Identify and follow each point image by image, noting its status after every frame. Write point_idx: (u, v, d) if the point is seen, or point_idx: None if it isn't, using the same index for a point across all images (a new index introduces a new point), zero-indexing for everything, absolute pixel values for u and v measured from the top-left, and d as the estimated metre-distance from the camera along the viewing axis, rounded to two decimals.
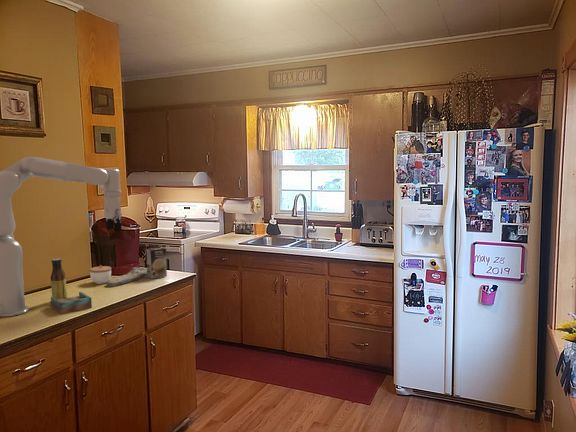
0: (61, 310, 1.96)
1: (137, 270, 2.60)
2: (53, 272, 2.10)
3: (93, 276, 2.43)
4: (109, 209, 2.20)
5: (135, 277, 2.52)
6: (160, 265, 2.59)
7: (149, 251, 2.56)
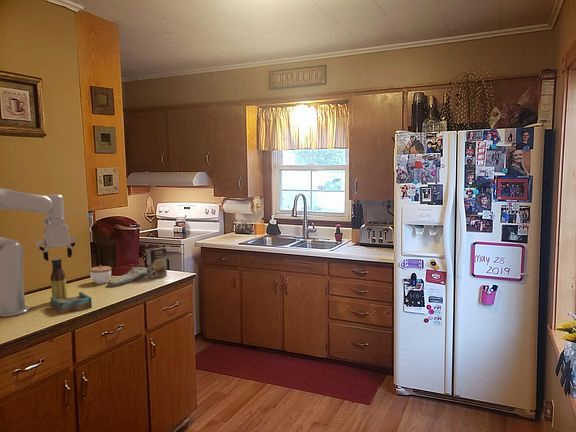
0: (61, 310, 1.96)
1: (136, 270, 2.60)
2: (53, 272, 2.10)
3: (93, 276, 2.43)
4: (64, 236, 2.11)
5: (135, 277, 2.52)
6: (160, 265, 2.59)
7: (149, 251, 2.56)
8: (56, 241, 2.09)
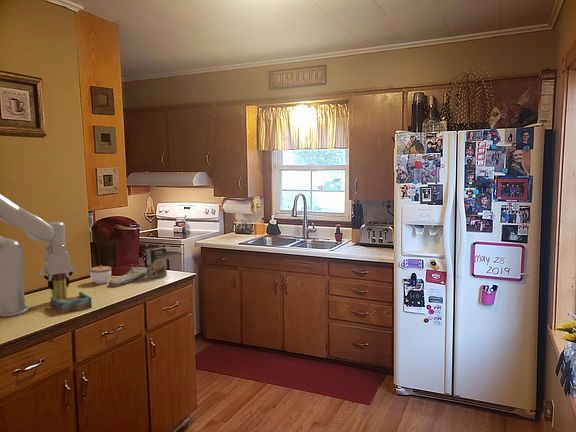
0: (61, 310, 1.96)
1: (136, 270, 2.60)
2: None
3: (93, 276, 2.43)
4: (65, 263, 2.12)
5: (136, 277, 2.53)
6: (160, 265, 2.59)
7: (149, 251, 2.56)
8: (57, 269, 2.10)
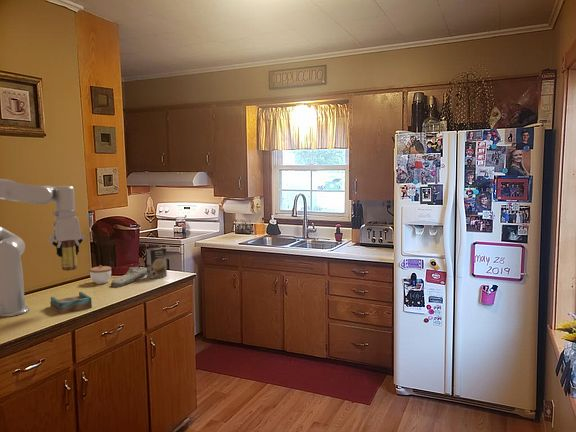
0: (61, 310, 1.96)
1: (135, 270, 2.60)
2: None
3: (93, 276, 2.43)
4: (75, 229, 2.02)
5: (136, 276, 2.53)
6: (160, 265, 2.59)
7: (149, 251, 2.56)
8: (66, 235, 1.99)
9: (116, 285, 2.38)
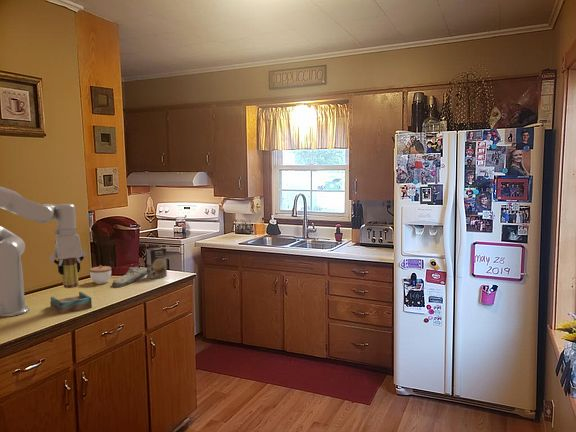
0: (61, 310, 1.96)
1: (135, 270, 2.60)
2: None
3: (93, 276, 2.43)
4: (76, 247, 2.02)
5: (137, 276, 2.53)
6: (160, 265, 2.59)
7: (149, 251, 2.56)
8: (67, 253, 2.00)
9: (117, 285, 2.38)
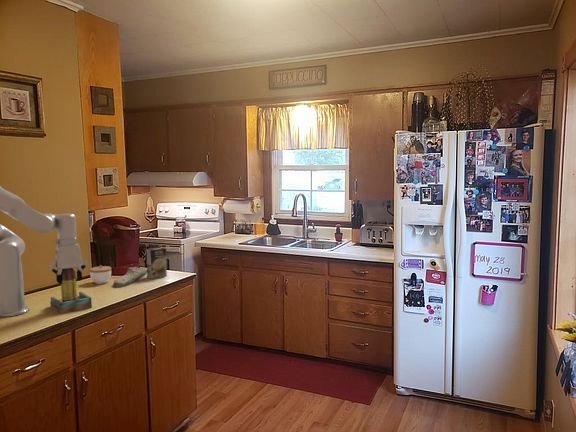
0: (61, 310, 1.96)
1: (135, 270, 2.60)
2: (63, 271, 2.01)
3: (93, 276, 2.43)
4: (76, 257, 2.03)
5: (137, 276, 2.53)
6: (160, 265, 2.59)
7: (149, 251, 2.56)
8: (68, 262, 2.00)
9: (119, 285, 2.38)
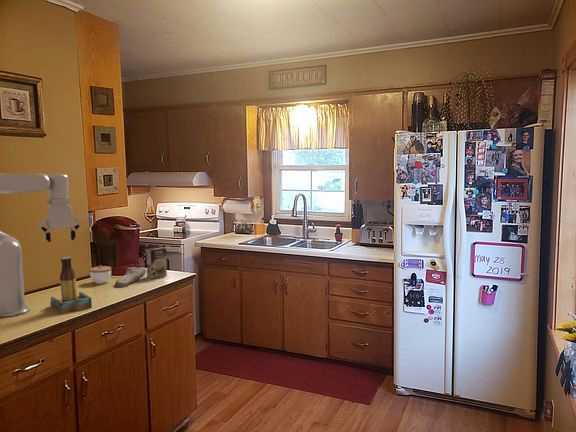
0: (61, 310, 1.96)
1: (134, 270, 2.61)
2: (62, 271, 2.01)
3: (93, 276, 2.43)
4: (68, 217, 2.04)
5: (138, 276, 2.54)
6: (160, 265, 2.59)
7: (149, 251, 2.56)
8: (59, 222, 2.02)
9: (121, 285, 2.38)
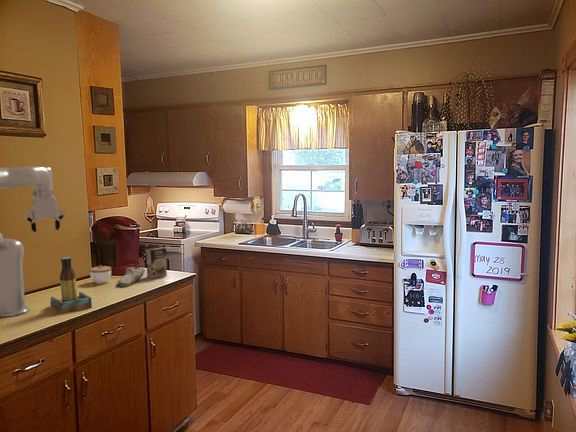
0: (61, 310, 1.96)
1: (134, 270, 2.61)
2: (62, 271, 2.01)
3: (93, 276, 2.43)
4: (52, 208, 2.14)
5: (138, 276, 2.54)
6: (160, 265, 2.59)
7: (149, 251, 2.56)
8: (44, 213, 2.12)
9: (124, 285, 2.39)
